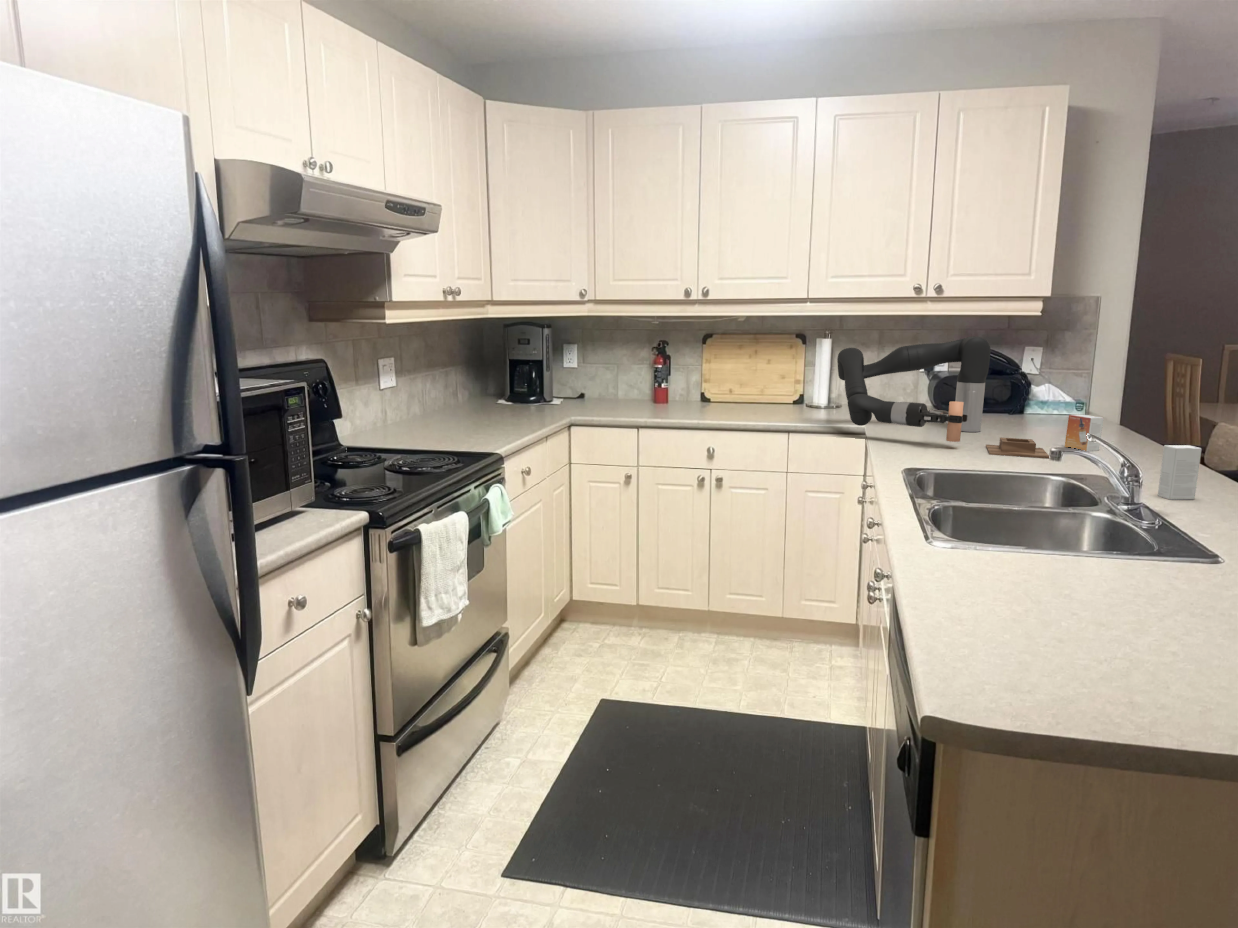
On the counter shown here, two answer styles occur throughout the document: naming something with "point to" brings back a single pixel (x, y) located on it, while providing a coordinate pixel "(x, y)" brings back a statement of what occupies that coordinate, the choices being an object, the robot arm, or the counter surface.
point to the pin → (954, 428)
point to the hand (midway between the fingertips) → (964, 419)
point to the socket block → (1017, 448)
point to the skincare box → (1179, 472)
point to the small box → (1083, 431)
